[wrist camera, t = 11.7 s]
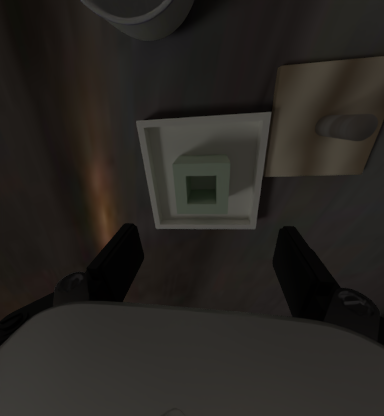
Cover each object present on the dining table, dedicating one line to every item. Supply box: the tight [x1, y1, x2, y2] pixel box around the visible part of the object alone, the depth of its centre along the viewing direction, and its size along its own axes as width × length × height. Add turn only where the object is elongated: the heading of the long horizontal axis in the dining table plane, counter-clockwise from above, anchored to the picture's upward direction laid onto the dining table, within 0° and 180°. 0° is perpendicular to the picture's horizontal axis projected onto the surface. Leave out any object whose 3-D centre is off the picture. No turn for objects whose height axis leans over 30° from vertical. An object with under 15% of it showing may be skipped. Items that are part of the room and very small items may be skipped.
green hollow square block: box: [172, 154, 230, 214], centre depth 22 cm, size 6×6×5 cm
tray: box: [136, 112, 271, 229], centre depth 24 cm, size 16×16×2 cm
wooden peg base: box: [263, 56, 384, 177], centre depth 18 cm, size 12×12×6 cm
